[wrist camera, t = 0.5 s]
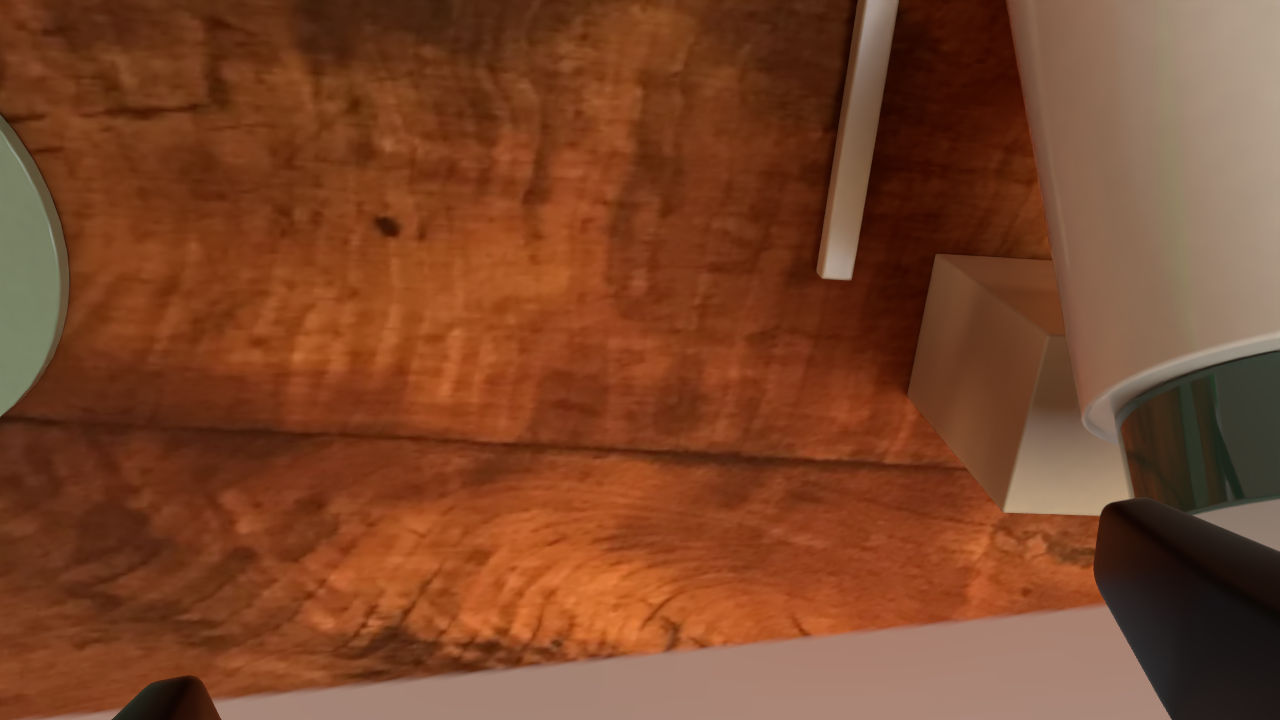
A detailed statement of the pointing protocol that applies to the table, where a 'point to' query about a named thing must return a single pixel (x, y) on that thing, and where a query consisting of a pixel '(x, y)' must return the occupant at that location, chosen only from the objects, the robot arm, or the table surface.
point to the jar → (1166, 237)
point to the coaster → (28, 272)
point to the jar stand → (975, 331)
